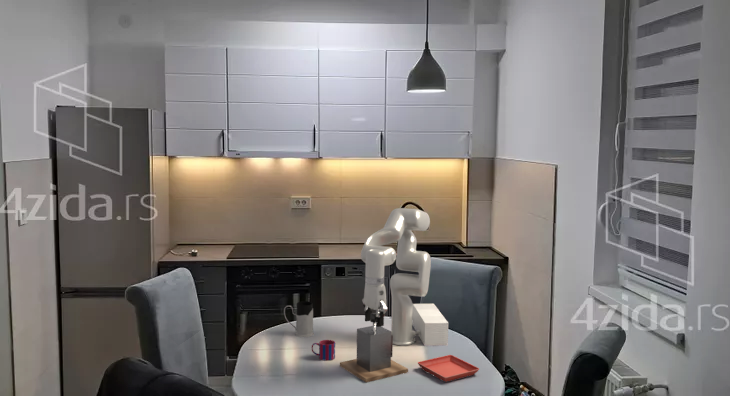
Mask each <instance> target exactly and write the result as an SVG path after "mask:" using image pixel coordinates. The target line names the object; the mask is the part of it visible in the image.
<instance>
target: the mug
mask: <svg viewBox="0 0 730 396" xmlns="http://www.w3.org/2000/svg"><path fill="white" fill-rule="evenodd" d="M315 345H317V346H318V348H319V349H318V351H319V352H318V353H317V352H316V351H314V346H315ZM311 352H312V353H313V354H314V355H315V356H318V357H319V360H321V361H324V362H325V361H328V362H329V361H333V360H335V359H336V341H335V340H332V339H323V340H320V341H319V343H318V342H314V343H312V345H311Z"/></svg>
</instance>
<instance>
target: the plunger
mask: <svg viewBox="0 0 730 396" xmlns="http://www.w3.org/2000/svg"><path fill="white" fill-rule="evenodd" d="M376 317H378V316H377V313H376V312H372V313H371V314H370V321H369V322H370V323H372V326H373V331H375V325H376Z"/></svg>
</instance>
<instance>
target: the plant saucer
mask: <svg viewBox="0 0 730 396" xmlns="http://www.w3.org/2000/svg"><path fill="white" fill-rule="evenodd" d="M417 364H418V366H419V367H420V368H421V369H422V370H423V371H424V372H426V373H428V374H430V375H431V374H432V376H433V375H434V376H433V377H435V378H437V379H438V380H441V381H442V380H443V381H442V382H444V381H445V383H448V382H452V381H455V379H456V380H459V378H460V379H463V377H464V378H466V377H467V376H468V377H471V376H473V375H475V374H476V373H478V372H479V370H480V368H479V367H477V366H475V365H473V364H471V363H469V362H467V361H465V360H463V359H461V358H459V357H458V356H455V355H453V354H447V355H444V356H443V355H442V356H438V357H434V358H431V359H426V360H420V361H417ZM468 377H467V378H468ZM451 380H452V381H451ZM447 381H448V382H447Z"/></svg>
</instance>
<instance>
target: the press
mask: <svg viewBox="0 0 730 396" xmlns="http://www.w3.org/2000/svg"><path fill="white" fill-rule="evenodd" d="M393 345H394V344H393V335H391V330H389V329H387V328H385V327H383V326H380V327H377V326H376V324H375V331H373V325H369V326H363V327H360V328H357V329H356V359H357V365H359V366H361V367H362V368H364V369H366V370H367V371H369V372H372V371H377V370H381V369H385V368H390V367H391V360H392V357H393Z"/></svg>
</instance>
